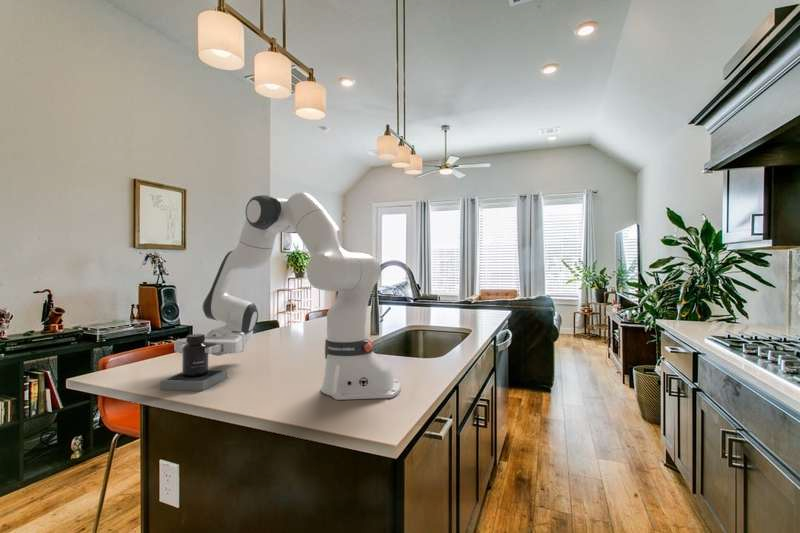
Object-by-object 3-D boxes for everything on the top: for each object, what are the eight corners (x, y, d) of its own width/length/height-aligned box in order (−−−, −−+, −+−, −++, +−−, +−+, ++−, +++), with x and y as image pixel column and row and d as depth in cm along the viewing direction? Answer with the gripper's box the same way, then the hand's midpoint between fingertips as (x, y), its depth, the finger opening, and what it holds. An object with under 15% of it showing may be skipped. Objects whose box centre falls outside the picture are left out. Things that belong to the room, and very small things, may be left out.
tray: (227, 377, 119) (227, 369, 119) (202, 390, 106) (202, 381, 106) (189, 376, 120) (189, 368, 120) (160, 389, 107) (160, 380, 107)
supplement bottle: (197, 379, 109) (196, 338, 109) (176, 378, 111) (176, 337, 111) (213, 372, 116) (213, 333, 116) (194, 371, 118) (193, 332, 117)
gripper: (190, 331, 127) (160, 339, 113) (248, 332, 125) (226, 340, 111) (190, 350, 127) (160, 360, 113) (248, 351, 125) (226, 362, 112)
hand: (193, 350), depth 112 cm, fingers closed on supplement bottle, 7 cm apart
